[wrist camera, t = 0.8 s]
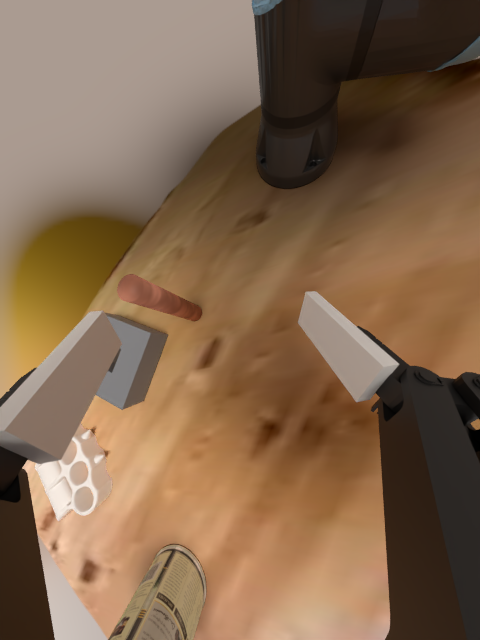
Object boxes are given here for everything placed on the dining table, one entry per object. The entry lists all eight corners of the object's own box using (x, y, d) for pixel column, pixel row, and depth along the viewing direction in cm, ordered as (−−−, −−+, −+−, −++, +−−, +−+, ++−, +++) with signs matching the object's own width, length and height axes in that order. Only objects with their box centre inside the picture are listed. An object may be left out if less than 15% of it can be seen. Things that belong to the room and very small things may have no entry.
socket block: (117, 315, 39) (95, 310, 34) (168, 334, 36) (150, 333, 31) (94, 374, 38) (67, 378, 33) (143, 400, 35) (121, 409, 30)
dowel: (190, 303, 36) (123, 271, 20) (204, 307, 35) (145, 277, 19) (185, 318, 35) (113, 297, 20) (198, 322, 35) (134, 304, 19)
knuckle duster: (43, 447, 39) (85, 402, 38) (79, 526, 34) (128, 476, 34) (22, 457, 36) (67, 407, 35) (58, 545, 31) (112, 490, 30)
